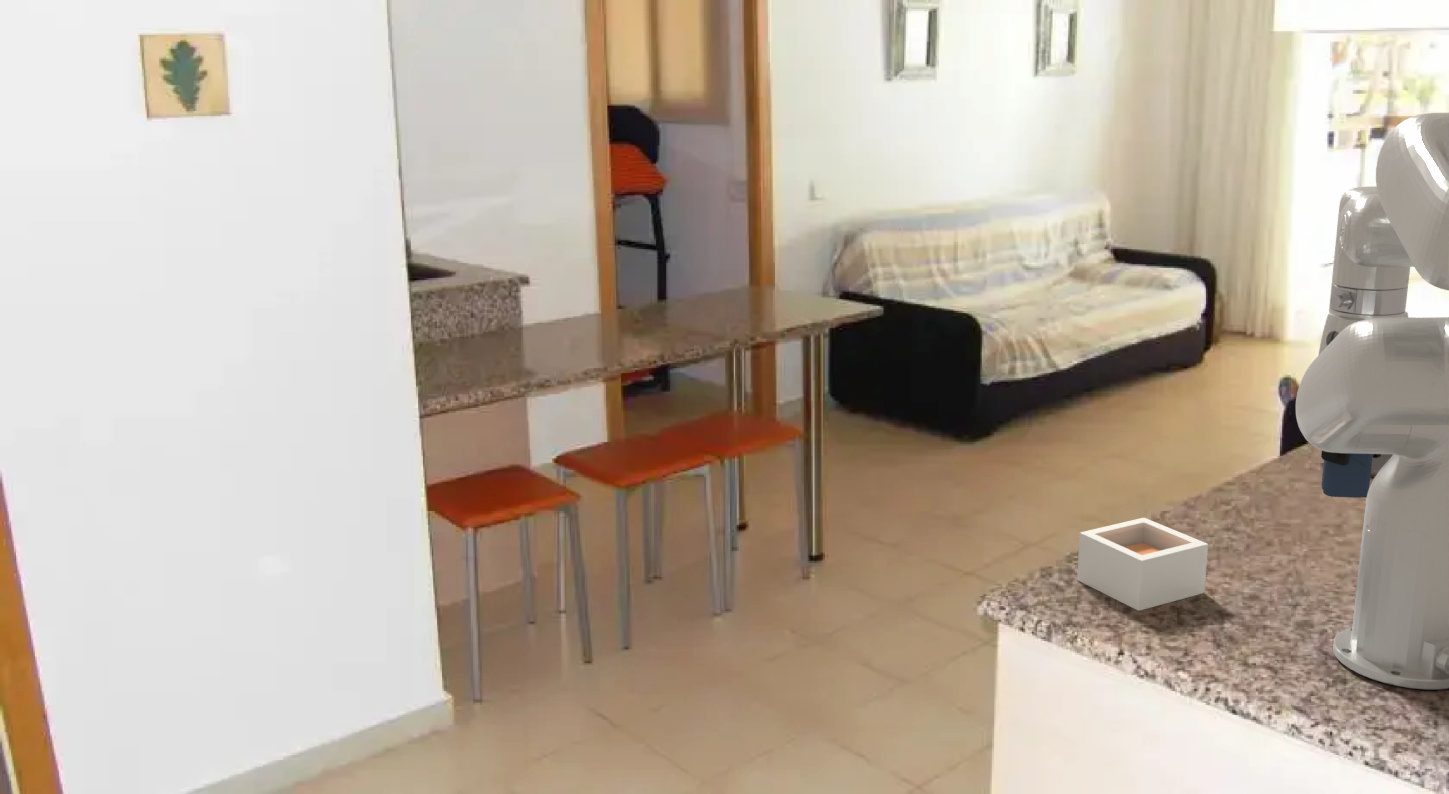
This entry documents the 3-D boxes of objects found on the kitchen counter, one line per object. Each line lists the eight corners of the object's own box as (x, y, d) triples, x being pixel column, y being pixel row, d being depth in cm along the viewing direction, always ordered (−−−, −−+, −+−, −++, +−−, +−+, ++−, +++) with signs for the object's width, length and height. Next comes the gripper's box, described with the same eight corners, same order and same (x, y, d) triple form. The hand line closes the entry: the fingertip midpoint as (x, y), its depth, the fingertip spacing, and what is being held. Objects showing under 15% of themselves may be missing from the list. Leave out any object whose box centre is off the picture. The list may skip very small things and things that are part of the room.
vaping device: (1373, 498, 143) (1384, 397, 140) (1323, 497, 144) (1333, 396, 141) (1367, 491, 146) (1377, 391, 142) (1318, 489, 147) (1327, 390, 143)
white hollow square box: (1204, 592, 145) (1208, 544, 143) (1138, 611, 141) (1141, 560, 139) (1141, 563, 154) (1144, 517, 152) (1077, 580, 149) (1079, 532, 148)
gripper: (1344, 315, 132) (1327, 480, 137) (1450, 297, 139) (1430, 455, 144) (1284, 303, 139) (1270, 461, 143) (1388, 287, 146) (1372, 438, 150)
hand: (1351, 456), depth 144 cm, fingers closed on vaping device, 4 cm apart
